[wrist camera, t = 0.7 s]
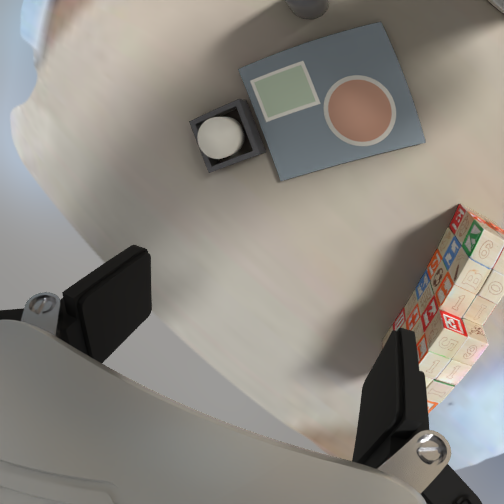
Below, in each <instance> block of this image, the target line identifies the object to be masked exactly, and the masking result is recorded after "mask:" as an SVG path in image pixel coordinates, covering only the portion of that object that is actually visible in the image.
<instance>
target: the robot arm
mask: <svg viewBox="0 0 504 504" xmlns="http://www.w3.org/2000/svg"><path fill="white" fill-rule="evenodd" d="M488 1H489V2H490V3H491V4H492V5H493V6H494V7H496V8H497V9H498V10H499V11H501V12H502V13H504V0H488ZM151 310H152V302H151V256H150V254H149V253H148V251H147V249H145V248H142V247H139V246H137V245H132V246H130V247H129V248H127V249H125V250H124V251H122V252H121V253H119V254H118V255H116V256H115V257H113V258H112V259H110V260H109V261H107V262H106V263H104V264H103V265H101V266H100V267H99V268H97V269H95V270H94V271H93V272H91V273H90V274H88V275H87V276H85V277H84V278H82V279H81V280H79V281H78V282H77V283H75V284H74V285H72V286H71V287H69V288H68V289H67V290H65V291H64V292H63V298H62V299H61V300H60V299H59V297H58V296H57V295H55V294H53V293H47V292H45V293H39V294H36V295H34V296H32V297H31V298H30V299H29V300H28V301H27V302H26V304H25V308H24V309H13V310H1V311H0V504H482V503H481V501H480V499H479V498H478V497H477V496H476V494H475V493H474V492H473V491H472V490H471V489H470V488H469V487H468V486H467V485H466V483H465V482H464V481H463V480H462V479H461V478H460V477H459V476H458V475H457V474H456V473H455V472H454V470H453V469H452V468H451V467H450V466H449V465H448V462H449V460H450V457H451V448H450V445H449V443H448V441H447V440H446V439H445V437H444V436H442V435H441V434H439V433H438V432H435V431H432V430H429V418H428V403H427V391H426V381H425V375H424V372H423V371H419V362H418V353H417V345H416V337H415V332H414V331H411V330H408V329H404V328H398V330H397V331H396V330H393V331H392V332H391V334H390V336H389V338H388V340H387V342H386V343H385V345H384V347H383V349H382V351H381V353H380V355H379V357H378V358H377V360H376V362H375V364H374V366H373V368H372V369H371V371H370V373H369V375H368V376H367V378H366V380H365V382H364V384H363V388H362V396H361V404H360V413H359V420H358V428H357V435H356V441H355V448H354V454H353V460H352V461H348V460H345V459H341V458H337V457H333V456H329V455H326V454H322V453H318V452H315V451H311V450H308V449H304V448H301V447H298V446H294V445H291V444H288V443H284V442H281V441H278V440H275V439H272V438H268V437H265V436H262V435H259V434H257V433H254V432H251V431H248V430H245V429H242V428H240V427H237V426H234V425H231V424H229V423H226V422H224V421H221V420H218V419H216V418H213V417H211V416H209V415H206V414H204V413H201V412H199V411H197V410H194V409H192V408H189V407H187V406H185V405H183V404H180V403H178V402H176V401H174V400H172V399H170V398H167V397H165V396H163V395H161V394H159V393H157V392H155V391H153V390H151V389H148V388H147V387H145V386H143V385H141V384H139V383H137V382H135V381H133V380H131V379H129V378H127V377H125V376H123V375H121V374H120V373H118V372H116V371H114V370H112V369H110V368H109V367H107V366H105V365H103V364H102V363H103V362H104V360H105V359H107V358H108V357H109V356H110V355H111V354H112V352H114V351H115V350H116V349H117V348H118V346H120V345H121V343H123V342H124V341H125V340H126V339H127V337H128V336H129V335H130V334H131V333H132V332H133V331H134V330H135V329H136V328H137V327H138V326H139V325H140V324H141V323H142V322H144V321H145V320H146V318H148V316H149V315H150V313H151Z"/></svg>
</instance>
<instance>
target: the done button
mask: <svg viewBox="0 0 504 504" xmlns="http://www.w3.org/2000/svg"><path fill="white" fill-rule="evenodd" d="M244 137H245V136H244V130H243V128H242V126H241V124H240V123H239V122H238V121H237V120H235V119H233V118H231V117H213V118H210V119H208V120H206V121H205V122H204V123H203V124H202V125H201V127H200V128H199V131H198V136H197V139H198V144H199V147H200V149H201V150H202V152H203V153H204V154H205V155H207V156H208V157H210V158H214V159H221V158H225V157H228V156H231V155H233V154H235V153H237V152H238V151H239V150H240V149H241V147H242V145H243V143H244Z"/></svg>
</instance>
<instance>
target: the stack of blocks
mask: <svg viewBox="0 0 504 504" xmlns="http://www.w3.org/2000/svg"><path fill="white" fill-rule="evenodd" d="M503 295H504V230H503V229H502V228H501V227H500V226H499V225H498V224H496V223H495V222H493V221H491V220H489V219H488V218H486V217H484V216H482V215H480V214H479V213H477V212H476V211H474V210H472V209H470V208H468V207H466V206H464V205H462V204H459V205H458V208H457V210H456V212H455V214H454V217H453V219H452V221H451V223H450V226H449V227H448V228H447V230H446V232H445V234H444V236H443V238H442V240H441V242H440V244H439V246H438V248H437V250H436V251H435V253H434V255H433V257H432V259H431V261H430V263H429V264H428V266H427V270H426V271H425V273H424V275H423V276H422V278H421V280H420V282H419V283H418V285H417V287H416V289H415V290H414V292H413V294H412V295H411V297H410V299H409V301H408V302H407V304H406V305H405V307H404V308H403V309H402V311H401V312H400V314H399V316H398V317H397V319H396V320H395V322H394V323H393V325H392V326H391V328H390V329H389V331H388V332H387V334H386V335H385V337H384V338H383V340H382V345H383V347H384V345H385V343H386V342H387V340H388V338H389V336H390V334H391V332H392V331H393V330H396V331H397V330H398V328H404V329H408V330H411V331H414V332H415V337H416V345H417V353H418V362H419V371H423V372H424V375H425V381H426V391H427V403H428V413H429V412H430V411H431V410H433V409H434V408H435V407H436V406H437V405H438V403H441V402H442V401H443V400H444V399H445V398H446V396H447V395H448V394H449V393H450V392H451V391H452V390H453V389H454V387H455V385H457V384H458V383H459V382H460V381H461V380H462V378H463V377H464V376H465V375H466V374H467V372H468V371H469V370H470V369H471V367H472V365H474V363H475V362H476V361H477V360H478V358H479V357H480V356H481V355H482V353H483V352H484V351H485V349H486V348H487V347H488V345H489V343H488V341H487V338H486V335H485V332H484V330H483V327H482V326H483V325H484V323H485V322H486V320H487V319H488V317H489V316H490V314H491V313H492V311H493V310H494V308H495V307H496V305H497V304H498V303H499V302H500V300H501V298H502V297H503ZM382 349H383V348H382Z"/></svg>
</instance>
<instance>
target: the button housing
mask: <svg viewBox="0 0 504 504" xmlns="http://www.w3.org/2000/svg"><path fill="white" fill-rule="evenodd" d="M236 109H237V110H238V113H239V115H240V118H241V120H242V123H243V126H244V128H245V131H246V133H247V136H248V139H249V141H250V144H251V147H252V149H253V151H252V152H249V153H246V154H243V155H241V156H238V157H235V158H233V159H230V160H227V161H225V162H222V163H219V160H218V159H214V158H210V157H208V156H207V155H205V154H204V153H203V152H202V150H201V149H200V151H201V154H202V156H203V159H204V161H205V164H206V167H207V169H208V172H209V173H210V172H213V171H216V170H218V169H221V168H224V167H226V166H229V165H232V164H234V163H237V162H240V161H243V160H245V159H248V158H251V157H254V156H257V155H259V154H262V153H265V152H266V150H265V148H264V145H263V142H262V140H261V137H260V134H259V132H258V129H257V126H256V124H255V121H254V119H253V116H252V113H251V111H250V108H249V106H248V103H247V101H246V100H242V99H238V100H236V101H233V102H231V103H229V104H226V105H224V106H222V107H220V108H217V109H215V110H213V111H211V112H209V113H206V114H204V115H202V116H200V117H198V118H196V119H194V120H192V121H190V125H191V128H192V130H193V133H194V135H195V138H196V141H197V143H198V139H197V136H198V131H199V128H200V127H201V125H202V124H203V123H204V122H205V121H206V120H208V119H210V118H213V117H220V116H222V115H224V114H227V113H229V112H231V111H234V110H236ZM198 146H199V144H198ZM199 148H200V147H199Z"/></svg>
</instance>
